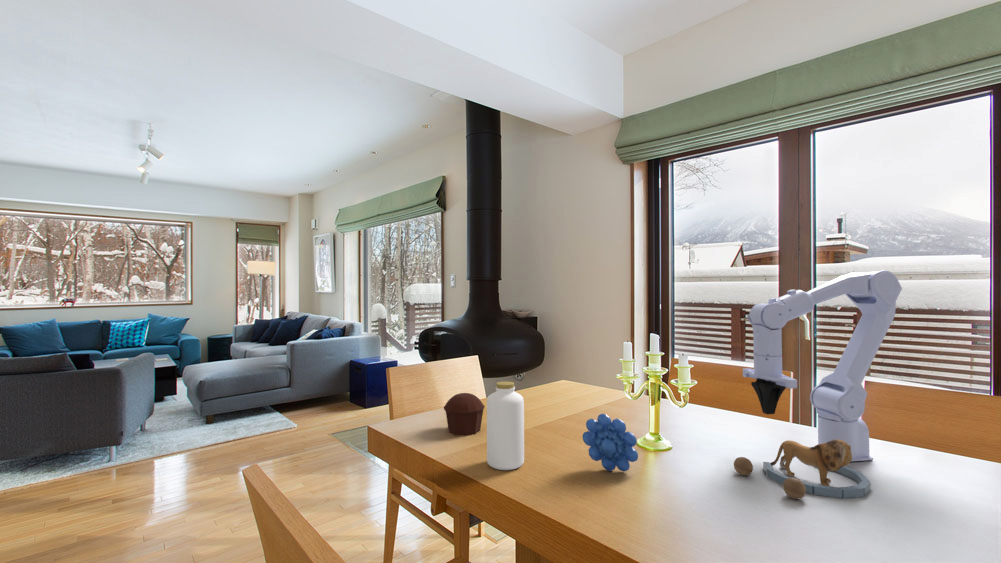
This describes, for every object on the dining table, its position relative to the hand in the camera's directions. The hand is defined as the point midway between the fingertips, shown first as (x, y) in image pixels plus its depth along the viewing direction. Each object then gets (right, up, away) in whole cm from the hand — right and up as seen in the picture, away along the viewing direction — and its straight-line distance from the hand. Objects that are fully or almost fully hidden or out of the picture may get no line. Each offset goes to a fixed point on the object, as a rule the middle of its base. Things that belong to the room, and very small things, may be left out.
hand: (768, 413), depth 105 cm
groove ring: (+2, -10, -14) cm, 17 cm away
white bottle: (-61, -10, -5) cm, 62 cm away
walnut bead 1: (-12, -10, -11) cm, 19 cm away
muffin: (-73, -11, +20) cm, 76 cm away
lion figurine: (+1, -10, -12) cm, 16 cm away
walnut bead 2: (-8, -9, -21) cm, 25 cm away
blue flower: (-39, -10, -9) cm, 42 cm away
